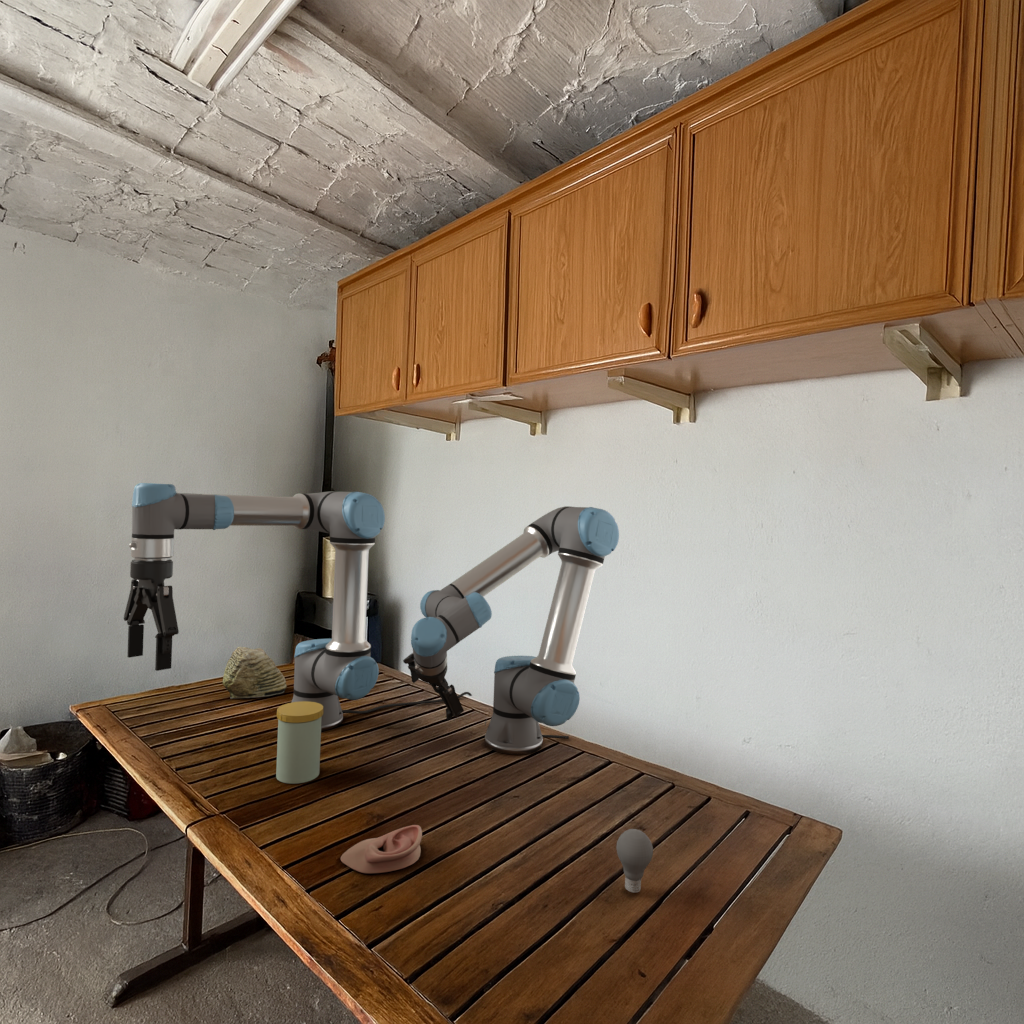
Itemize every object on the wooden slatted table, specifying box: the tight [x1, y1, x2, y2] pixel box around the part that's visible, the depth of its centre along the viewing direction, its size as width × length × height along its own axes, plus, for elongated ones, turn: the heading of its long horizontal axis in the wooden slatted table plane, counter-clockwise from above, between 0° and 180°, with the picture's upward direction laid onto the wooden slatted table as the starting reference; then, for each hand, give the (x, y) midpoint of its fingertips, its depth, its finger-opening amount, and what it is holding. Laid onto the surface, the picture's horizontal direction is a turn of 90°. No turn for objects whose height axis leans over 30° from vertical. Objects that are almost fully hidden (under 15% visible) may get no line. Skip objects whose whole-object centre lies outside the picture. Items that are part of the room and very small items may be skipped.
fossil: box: [222, 646, 288, 699], centre depth 198 cm, size 9×18×15 cm, turn 132°
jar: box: [275, 717, 322, 785], centre depth 144 cm, size 9×9×15 cm
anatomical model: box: [340, 824, 423, 874], centre depth 112 cm, size 13×4×12 cm
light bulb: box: [615, 828, 654, 894], centre depth 106 cm, size 6×6×10 cm
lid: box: [276, 701, 324, 723], centre depth 144 cm, size 10×10×2 cm
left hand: (148, 662), depth 129 cm, fingers open, 13 cm apart
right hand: (433, 697), depth 163 cm, fingers open, 13 cm apart
